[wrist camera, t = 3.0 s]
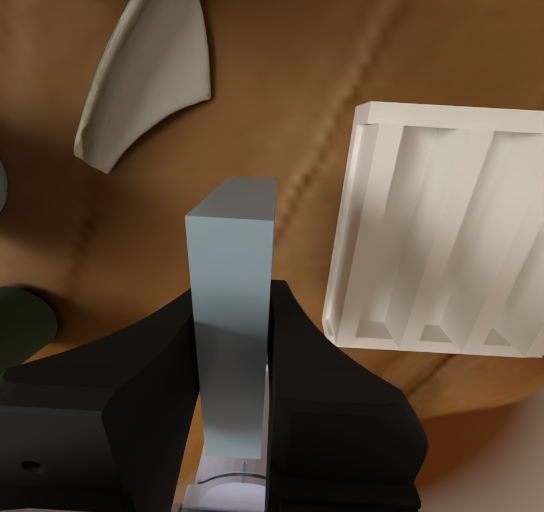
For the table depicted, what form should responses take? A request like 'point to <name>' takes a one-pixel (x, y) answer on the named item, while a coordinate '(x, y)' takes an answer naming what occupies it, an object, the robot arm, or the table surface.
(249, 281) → the tile
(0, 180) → the light blue cup
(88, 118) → the ceramic fragment
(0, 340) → the cream and green mug
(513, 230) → the rack
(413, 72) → the table surface
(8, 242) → the table surface
